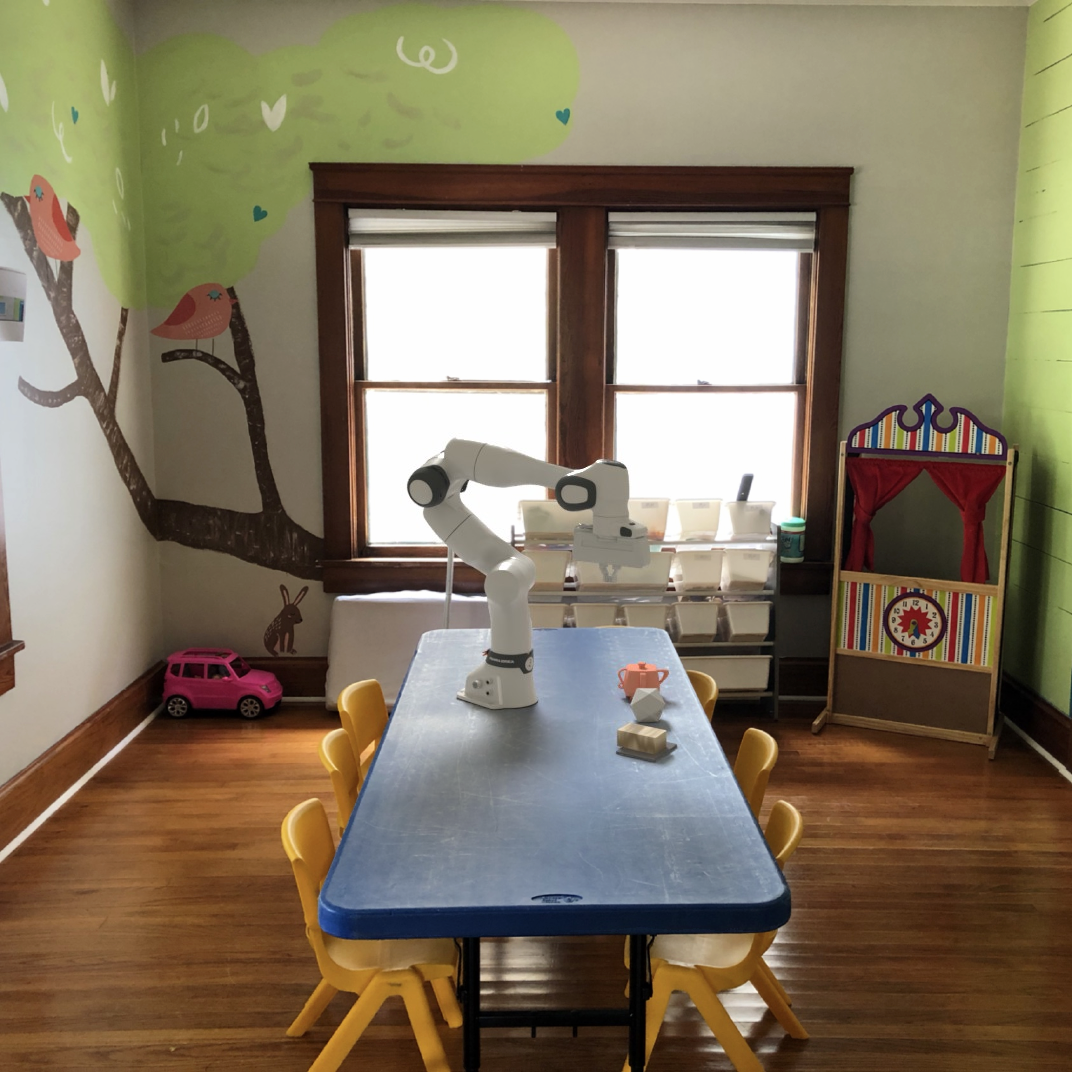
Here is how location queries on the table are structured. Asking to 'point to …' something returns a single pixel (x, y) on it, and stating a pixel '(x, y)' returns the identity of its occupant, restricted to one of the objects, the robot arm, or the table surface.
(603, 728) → the table surface
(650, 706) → the die
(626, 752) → the rubber mat
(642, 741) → the maple block
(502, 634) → the robot arm
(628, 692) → the teapot
